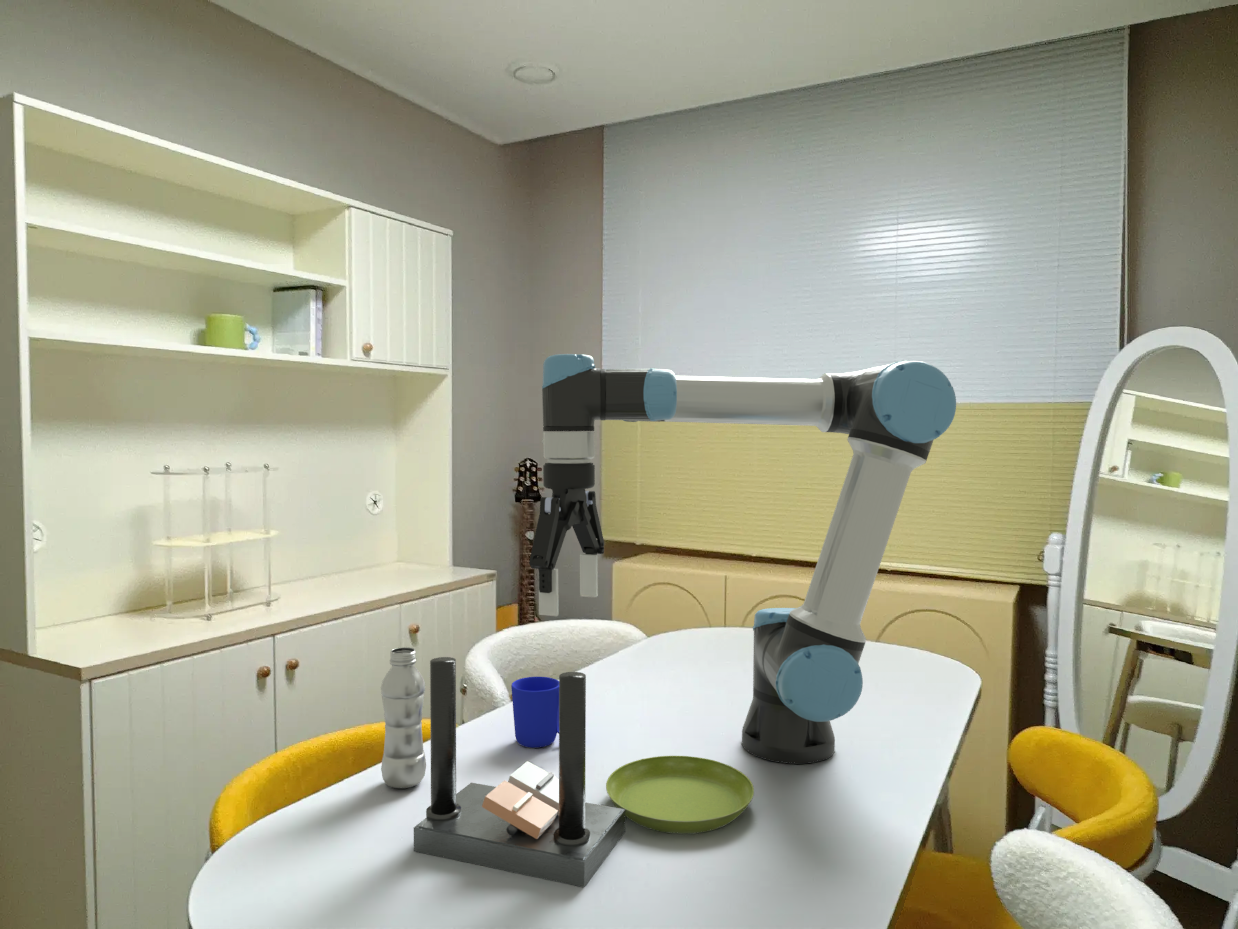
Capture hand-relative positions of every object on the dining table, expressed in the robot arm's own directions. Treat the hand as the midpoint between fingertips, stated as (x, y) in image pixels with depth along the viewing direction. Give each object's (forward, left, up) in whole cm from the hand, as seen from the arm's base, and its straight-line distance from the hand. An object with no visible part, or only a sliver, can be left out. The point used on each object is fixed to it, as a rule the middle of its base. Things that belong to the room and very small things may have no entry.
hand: (569, 605), depth 122 cm
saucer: (-17, +1, -27) cm, 32 cm away
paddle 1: (-2, +14, -21) cm, 25 cm away
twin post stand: (-1, +18, -27) cm, 32 cm away
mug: (+10, -13, -27) cm, 31 cm away
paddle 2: (-2, +21, -21) cm, 30 cm away
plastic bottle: (+23, +9, -27) cm, 36 cm away
